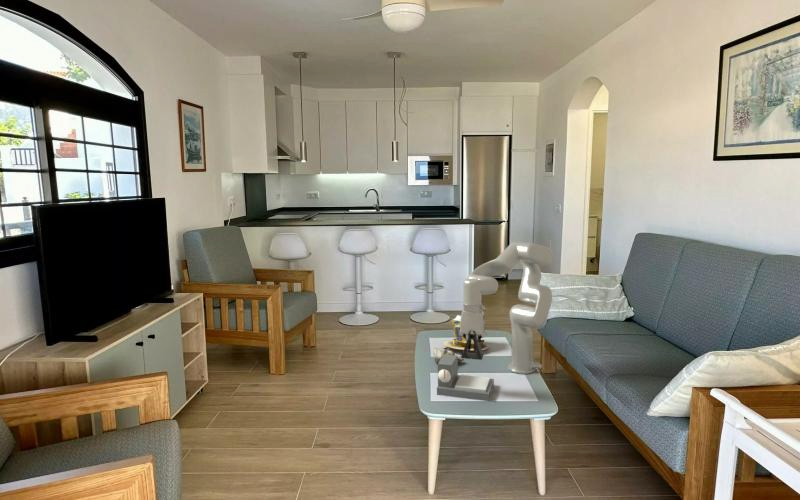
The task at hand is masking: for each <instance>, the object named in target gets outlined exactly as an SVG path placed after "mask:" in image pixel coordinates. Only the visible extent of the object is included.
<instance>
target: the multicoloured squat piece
mask: <svg viewBox="0 0 800 500" xmlns="http://www.w3.org/2000/svg"><path fill="white" fill-rule="evenodd" d="M460 322H461V315H460V314H459V315H458V314H457V315H456V317H454V318H453V319H452V320H451V321H450V324H451V325H452V326H453V336H455V338H453V339H452V340H446V341H444V342H443V343H442V345H443V346H445V347H446V348H451V349H456V351H459V350H463V351H464V348H465V345H466V343H467V341H466V339H465V338H464V337H463V336H461V335H459V334H458V333H459V330H460ZM479 343H480V346H481V349H482V351H484V350H488V349H489V348H490V347H489V345H487V344H485V339H482V338H481V339H480V340H479ZM469 351H474V341H473V340H472V339H471V349H470V350H469Z"/></svg>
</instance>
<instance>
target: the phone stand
mask: <svg viewBox="0 0 800 500" xmlns="http://www.w3.org/2000/svg"><path fill="white" fill-rule="evenodd" d="M470 332H471V331H469V333H470ZM469 333H468V340H467V343H466V345H465V348H464V350H463V351H462V353H461V356H460V359H465V360H466V359H467V360H469V359H470V360H480V361H481V360H483V357H484V352H483V351H484V350H482V349H481V346H480V343H479V341H478V342H477V340H476V337H475V335H476V334H475V332H474V331H473V333H474V334H475V335H472V334H469ZM471 339H472V340H473V341H474V345H475V349H476V351H475V352H476V353H471V352H468V351H469V350H468V346H469V343H470V340H471Z"/></svg>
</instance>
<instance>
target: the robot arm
mask: <svg viewBox="0 0 800 500" xmlns="http://www.w3.org/2000/svg"><path fill="white" fill-rule="evenodd" d="M553 260H554V252H553V250H552V248H550V247H548V246H545V245H541V244H537V243H535V242H534V243H533V242H527V241H514V242H511V243H510V244H509V245H508V246H507V247H506V248H505V249H504V250H503V251H502V252H501V253H500V254H499V255H498V256H497V257H496V258H495V259H492V260H489V261H487V262H485V263H482V264H480V265H479V266H477V267H476V268H475V269H473V271H471V273H470V274H469V275H468V277H467V278H466V279H464V280H463V283H462V284H463V287H462V289H463V294H462V295H463V297H462V298H463V309H462V310H461V315H460V316H461V322H460V330H459V333H458V334H459V335H461V336H463V337H464V338H465V339H466V341H467V340H468V333H469V331H471V332H470V333H469V334H472V335H475V334H476V335H475V337H476V340H477V342H478V341H479V340H480V339H481V340H482V339H483V338H486V337H487V336H488V334H487V331H486V322H485V321H486V320H485V312H484V310H485V309H486V306H485V305H483V303H482V296H483V295H484V296H487V295H492V294H495V293H496V292H497V291H498V289H499V282H498V281H497V279H496V278H494V277H496V276H503V275H507V274H509V273H510V272H511V271H512V270H513V269H514V268H516V266H517V265H518V264H519V263H520V264H521V266H522V270H523V272H522V277H521V282H520V284H519V288H518V294H517V296H518V300H520V301H521V302H523V303H527V304H530V305H525V304H515V305H513V306H512V307H510V310H509V320H510V327H511V329H510V330H511V356H510V357H511V363H508V365H507V369H508V370H509V372H512V373H515V374H519V375H520V374H521V375H528V374H531V373H532V374H533V373H535V371H536V368H537V369H542V363H541V364H540V362H538V361H537V362H534V358H533V333H532V329H535V330H540V329H541V330H542V329H543V328H545V325H546V324H547V322H548V317H549V313H550V311H551V305H552V300H553V292H552V289H551V288H550V287H549V286H547V285H543V284H541V279H542V270H541V268H540V266H548V265H550V264H551V263H553ZM539 265H540V266H539ZM531 304H532V305H535V307H534V306H531ZM473 331H474V332H475V334H474V333H473ZM470 349H471V340H470V343H469V346H468V351H471V350H470ZM473 351H474V352H476V349H475V345H474V350H473Z"/></svg>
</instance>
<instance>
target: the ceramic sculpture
mask: <svg viewBox="0 0 800 500" xmlns="http://www.w3.org/2000/svg"><path fill="white" fill-rule="evenodd" d="M444 354H447V355H456V354H455V352H454V351H453V350H451V349H448V347H443V348H441V349H440V348H437V347H433V357H434V359H433V360H434V362H435V363H436V364H438V363H439V361H440V360H441V358H442V357H443V355H444ZM464 360H465V358H461V357H459V356H458V355H457V363H460V362H463V361H464Z"/></svg>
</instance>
